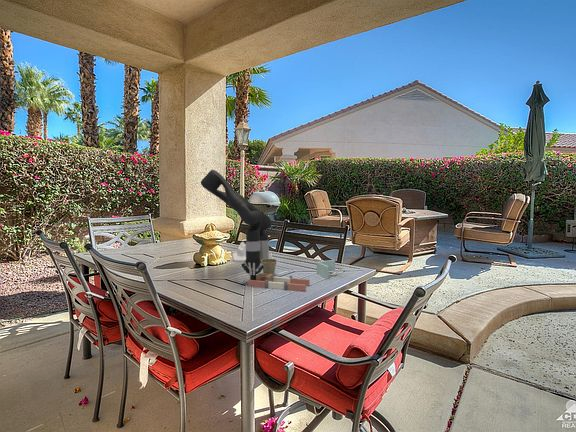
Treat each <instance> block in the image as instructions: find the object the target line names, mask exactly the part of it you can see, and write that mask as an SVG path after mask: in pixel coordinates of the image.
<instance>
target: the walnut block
mask: <svg viewBox="0 0 576 432" xmlns="http://www.w3.org/2000/svg"><path fill="white" fill-rule="evenodd" d="M256 275H257V276H256V280H258V281H265V280H268V281H269V282H273V274H268V273H263V272H260V273H259V274H256Z"/></svg>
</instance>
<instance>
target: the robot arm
mask: <svg viewBox="0 0 576 432" xmlns="http://www.w3.org/2000/svg"><path fill="white" fill-rule="evenodd" d="M200 184H201V186H202V187H203V188H204V189H205V190H207V191H208V192H209V193H210V194H212V195H214V196H215V197H216V198H219V199H220V200H221V201H222V202H223V203H225V205H228V207H230V208H231V209H232V210H234V211H235V212H236V213H237V214H238V216H239V217H240V219H241V220H242V221H243V223H244V224H246V225H248V226H249V228H248V229H247V230H246V233H245V241H246V242H245V244H246V260H245V263H241V266H242V268H243V269H244V271H245V272H246V274H249V280H256V275H258V274H260V273H262V271H263V268H264V267H265V265H264V264H262V263H261V260H263V259H270V257H269V254H270V253H269V246H270V245H269V237H270V236H269V235H268V234H267V233H266V231H265V230H268V229H270V228H271V226H272V220H271V218H270V216H269V215H267V214H265V213H264V212H262V211H261V210H260V209H258V208H257V207H256V206H254V205H253V204H252V203H251V202H249V200H247V199H246V198H245V197H244V196H243V195H242V194H240V193H237V192H236V190H235V189H234V188H233V187H232V186H231V184H230V183H229V182H228V181H227V179H225V177H224V176H223V175H222V174H220V173H219V172H218V171H217V170H215V169H211V170H210V171H208V173H207V174H206V175H205V176H203V178H202V180H201V181H200ZM220 186H222V187H223V188H224V191H222V190H219V188H220Z"/></svg>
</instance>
